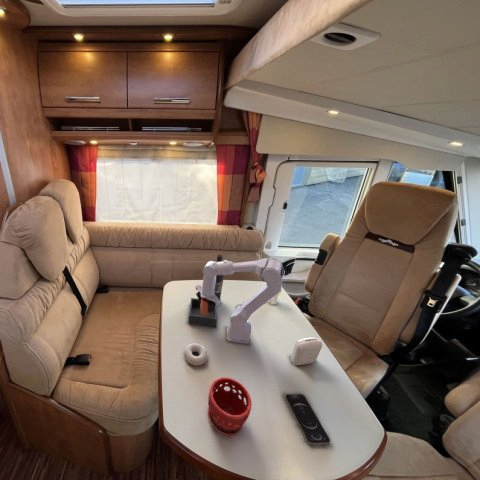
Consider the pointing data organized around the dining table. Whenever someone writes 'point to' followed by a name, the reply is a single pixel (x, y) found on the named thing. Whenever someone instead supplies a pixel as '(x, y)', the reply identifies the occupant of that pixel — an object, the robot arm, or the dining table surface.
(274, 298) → the cup
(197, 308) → the tote
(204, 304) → the terracotta cup
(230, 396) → the flower pot
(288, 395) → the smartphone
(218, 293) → the wine bottle
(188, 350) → the donut
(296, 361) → the photo printer
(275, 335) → the dining table surface
